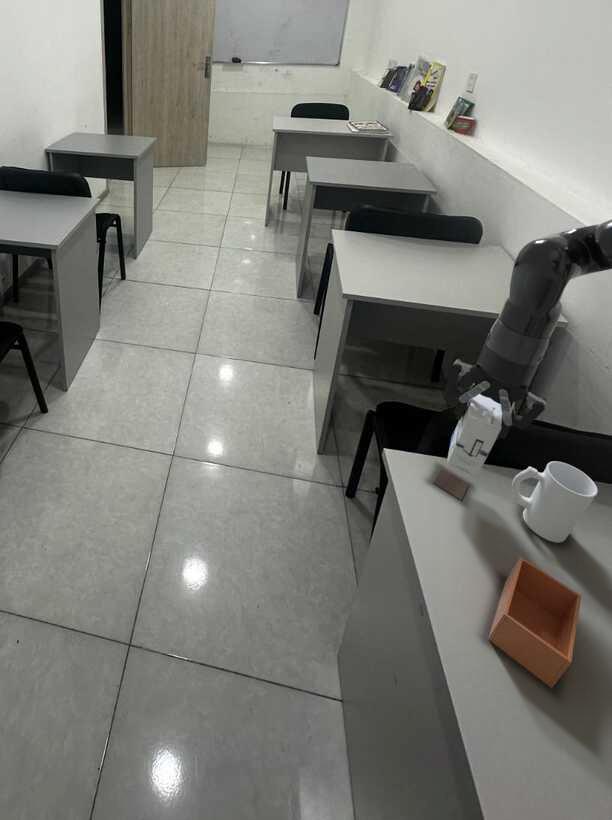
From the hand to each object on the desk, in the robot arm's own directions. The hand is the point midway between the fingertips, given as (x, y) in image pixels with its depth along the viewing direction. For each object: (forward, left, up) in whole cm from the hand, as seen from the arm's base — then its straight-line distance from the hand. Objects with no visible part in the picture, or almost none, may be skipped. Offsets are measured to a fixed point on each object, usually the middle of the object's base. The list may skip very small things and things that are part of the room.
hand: (477, 426), depth 85 cm
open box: (-15, +18, -15) cm, 28 cm away
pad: (0, 0, -15) cm, 15 cm away
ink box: (0, 0, -8) cm, 8 cm away
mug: (-13, -3, -15) cm, 20 cm away
